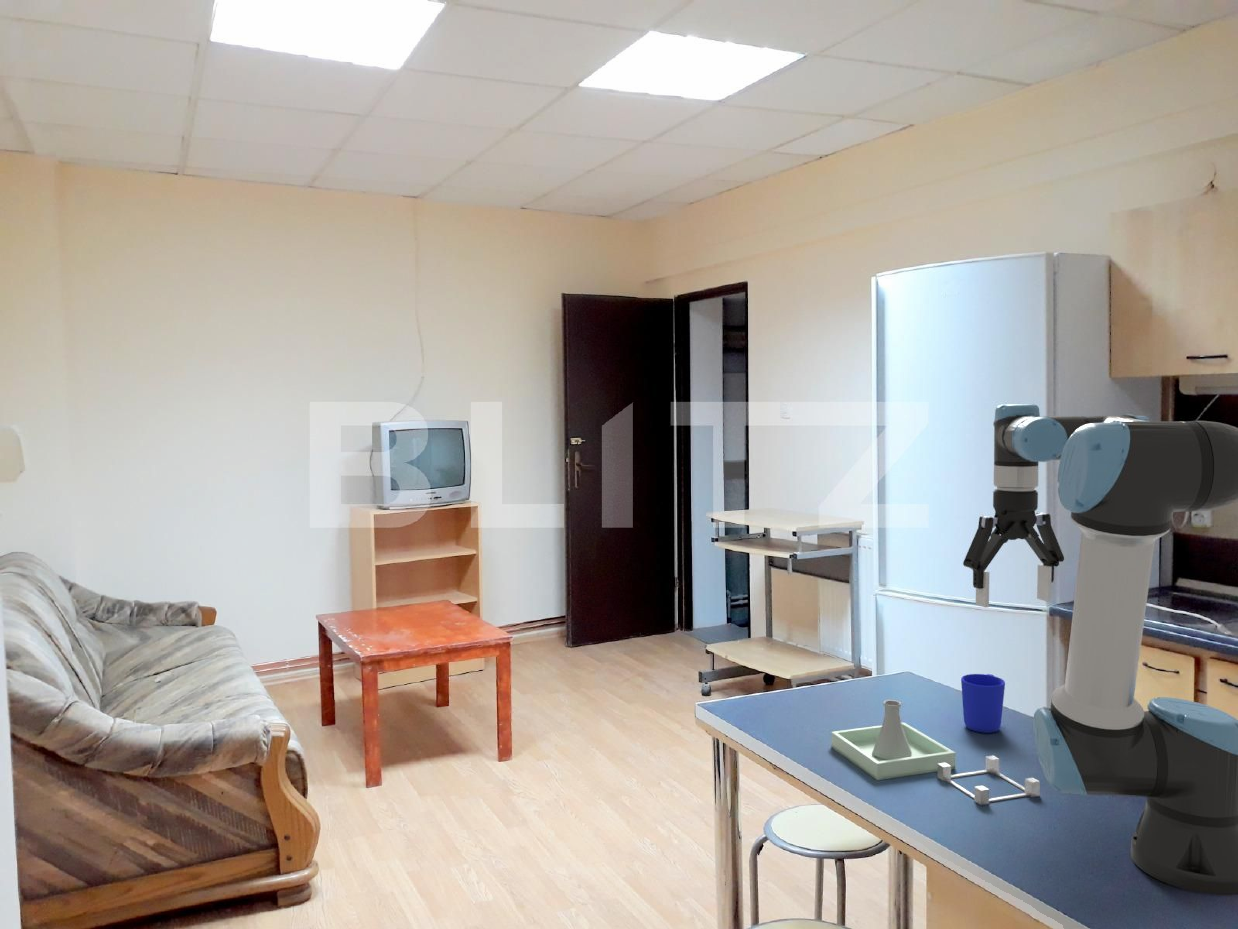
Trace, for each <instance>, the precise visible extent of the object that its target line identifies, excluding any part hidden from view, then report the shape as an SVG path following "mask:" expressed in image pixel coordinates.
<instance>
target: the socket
mask: <svg viewBox="0 0 1238 929" xmlns="http://www.w3.org/2000/svg"><path fill="white" fill-rule="evenodd" d="M984 767H985V769H982V770H975V771H970V772H962V773H956V774H952V769H951V766H950V765H949V764H947V763H938V768H937V778H938V779H939V780H941V781H942V782H947V783H948V784H950V785H952V787H955V788H956V789H958V790H959V791H961V792H962V793H964V794H966V795H967V796H969V797H970V798H971V799H973V800H974V802H975V803H976V804H978V805H979V806H985V805H989V804H990V803H993V802H1000V801H1006V800H1012V799H1018V798H1025V797H1031V798H1034V797H1035V798H1036V797H1039V796H1040V788H1041V787H1040V786H1041V783H1040V780H1038V779H1036V778H1034V777H1027V778H1024V786H1023V785H1021V784H1020V783H1018V782H1016V781H1015V780H1013V779H1011V778H1009V777H1007V776H1006V775H1004V774H1002V773H1001V772H1000V758H998V757H997V756H995V755H989V756H988V755H987V756H985V766H984ZM989 773H990V774H992V775H993V774H994V775H996V776H997V777H999V778H1001V779H1003V780H1004V781H1006V782H1008V783H1010V784H1012V785H1013V786H1015V787H1016V788H1019V790H1022V791H1023V793H1017V794H1016V793H1015V794H1011V795H1010V794H1009V795H1004V796H999V797H998V796H997V797H991V798H990V789H989V788H987V786H984V785H976V786H974V791H973V792H974V794H973V793H972V792H970V791H969V790H968V789H966V788H964V787H962V786H961V785H959V784H958V783H956V782H955V781H953V780H952V779H955V778H956V779H957V778H961V777H962V778H963V777H968V776H974V775H975V776H977V775H982V774H989Z"/></svg>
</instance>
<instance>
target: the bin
mask: <svg viewBox="0 0 1238 929" xmlns="http://www.w3.org/2000/svg"><path fill="white" fill-rule="evenodd" d="M901 724H902V727H903V730H904V733H905V735H906V738H907V741H908V743H909V746H910V749H911V752H912V754H911V757H906V758H899V759H892V760H883V759H881V758H878V757H876V756H874V755H872V752H873V749H874V746H875V743H876V741H877V738H878V736H879V733H880V730H881V727H882V725H883V724H881V725H874V726H868V727H858V728H851V729H843V730H836V731H834V730H833V731H831V735H830V736H831V737H830V738H831V741H830V743H831V744H830V747H831V748H832V749H833V750H834V751H836V752H837V753H838V754H840V755H841V756H843V757H844V758H845V759H847V760H849V761H850V762H851V763H852V764H854V765H855V766H856V767H858V768H860V769H861V770H862V771H864V772H865V773H866V774H867V775H869V776H870V777H872V778H873V779H874V780H876V781H881V780H888V779H896V778H902V777H903V778H904V777H908V776H916V775H923V774H929V773H936V772H937V768H938V763H947V764H949V765H950V766H951V770H955V769H956V751H954V750H952V749H950V748H949V747H946V746H945V745H944V744H942V743H940V742H938V741H936V740H935V739H933V738H932V737H930V736H928V735H926V734H925V733H923V732H921V731H920V730H919V729H916V728H915V727H912V726H911V725H909V724H908V723H906V722H901Z"/></svg>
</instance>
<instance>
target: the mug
mask: <svg viewBox="0 0 1238 929" xmlns="http://www.w3.org/2000/svg"><path fill="white" fill-rule="evenodd" d="M960 678H961V679H960V682H961V684H960V685H961V696H962V698H961V699H962V712H963V714H962V715H963V722H964V725H965V727H967V729H969V730H972V731H974V732H978V733H983V734H984V733H985V734H987V733H988V734H990V733H991V734H992V733H996V732H998V731H999V730H1000V728H1001V725H1002V719H1003V718H1002V716H1003V707H1004V700H1005V698H1004V697H1005V690H1006V689H1005V686H1006V681H1005V680H1004V679H1003V678H1001V677H998V676H996V675H995V676H994V674H989V673H987V674H986V673H985V674H983V673H970V674H966V675H965V674H964V675H963V676H961V677H960Z"/></svg>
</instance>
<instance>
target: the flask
mask: <svg viewBox="0 0 1238 929" xmlns="http://www.w3.org/2000/svg"><path fill="white" fill-rule="evenodd" d="M882 705H883V707H884V716H883V722H882V724H881V725H882V727H881V730H880V733H879V736H878V738H877V741H876V743H875V746H874V749H873V752H872V755H874V756H876V757H878V758H881V759H883V760H892V759H899V758H906V757H911V754H912V752H911V749H910V746H909V743H908V741H907V738H906V735H905V733H904V730H903V727H902V724H901V723H902V719H901V714H900V713H901V712H900V708H901V705H902V702H901V701H898V700H893V699H886V700H884V701H883V703H882Z"/></svg>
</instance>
